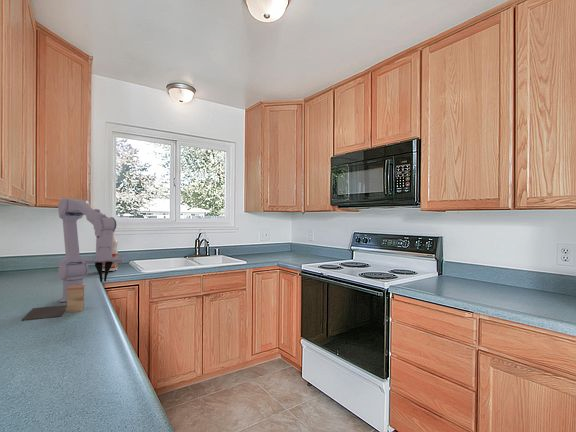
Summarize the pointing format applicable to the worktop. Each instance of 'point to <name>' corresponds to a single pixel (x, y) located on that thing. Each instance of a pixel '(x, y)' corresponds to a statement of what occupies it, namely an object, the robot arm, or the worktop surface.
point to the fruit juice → (113, 254)
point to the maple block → (75, 298)
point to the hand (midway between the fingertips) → (103, 281)
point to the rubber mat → (45, 312)
